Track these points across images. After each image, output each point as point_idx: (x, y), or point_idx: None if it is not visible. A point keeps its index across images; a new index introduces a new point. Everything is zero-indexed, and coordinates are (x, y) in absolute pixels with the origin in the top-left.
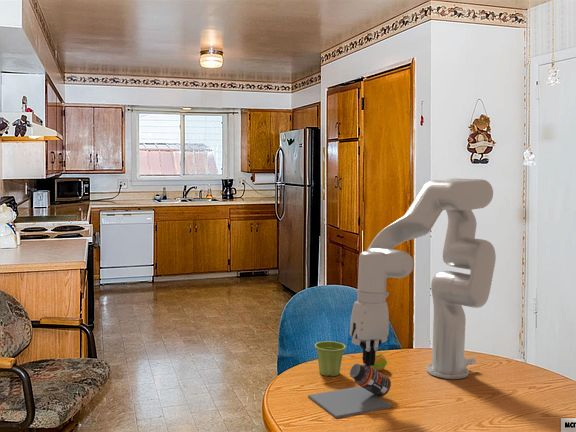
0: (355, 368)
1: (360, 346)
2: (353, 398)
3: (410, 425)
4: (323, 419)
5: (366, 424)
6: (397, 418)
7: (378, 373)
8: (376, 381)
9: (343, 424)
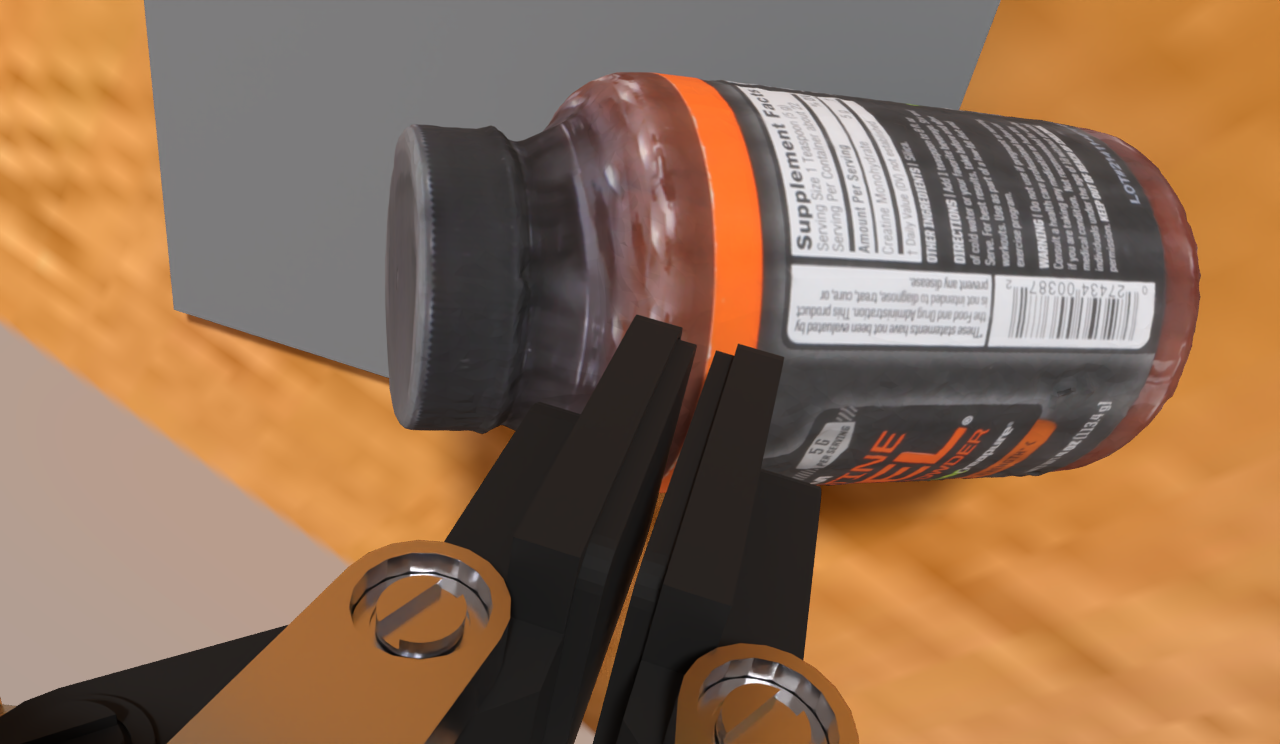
0: (400, 294)
1: (228, 655)
2: None
3: None
4: (83, 242)
5: (359, 525)
6: None
7: (846, 477)
8: None
9: (198, 412)
